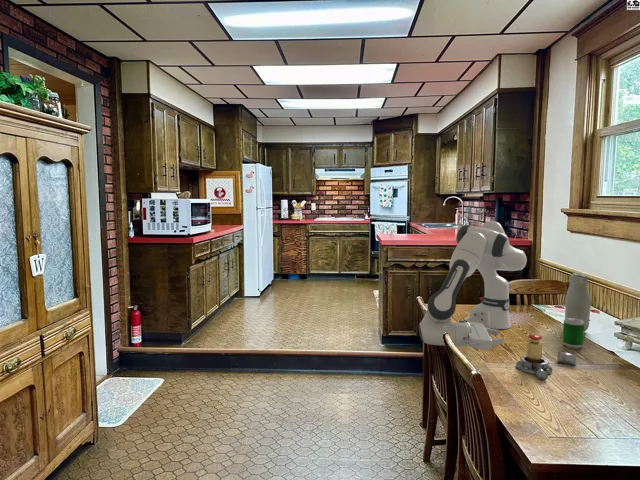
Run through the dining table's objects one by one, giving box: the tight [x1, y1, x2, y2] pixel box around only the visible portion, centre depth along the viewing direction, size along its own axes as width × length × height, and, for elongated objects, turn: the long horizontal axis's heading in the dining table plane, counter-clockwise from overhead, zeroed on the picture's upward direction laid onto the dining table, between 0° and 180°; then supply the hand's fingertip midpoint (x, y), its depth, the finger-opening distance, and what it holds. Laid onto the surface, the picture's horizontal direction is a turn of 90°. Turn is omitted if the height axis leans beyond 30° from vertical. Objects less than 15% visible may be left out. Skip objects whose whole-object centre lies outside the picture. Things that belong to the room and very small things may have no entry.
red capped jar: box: [526, 333, 543, 364], centre depth 159 cm, size 5×5×12 cm
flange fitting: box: [515, 354, 553, 382], centre depth 157 cm, size 12×16×4 cm
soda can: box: [562, 317, 585, 350], centre depth 183 cm, size 8×8×12 cm
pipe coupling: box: [557, 351, 577, 366], centre depth 165 cm, size 6×4×4 cm, turn 54°
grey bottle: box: [564, 272, 592, 332], centre depth 201 cm, size 10×10×28 cm
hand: (500, 336), depth 161 cm, fingers open, 8 cm apart
